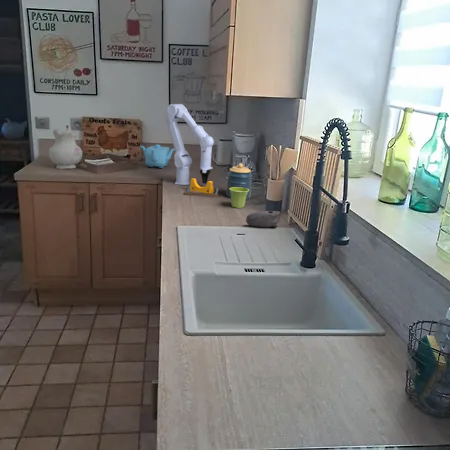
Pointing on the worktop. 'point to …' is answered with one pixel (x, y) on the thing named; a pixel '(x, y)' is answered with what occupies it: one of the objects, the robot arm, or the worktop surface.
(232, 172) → the canister
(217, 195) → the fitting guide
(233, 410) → the worktop surface
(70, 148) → the ceramic pitcher
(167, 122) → the robot arm
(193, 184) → the pipe clamp
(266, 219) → the perforated stone tool
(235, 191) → the plant pot
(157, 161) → the teakettle
